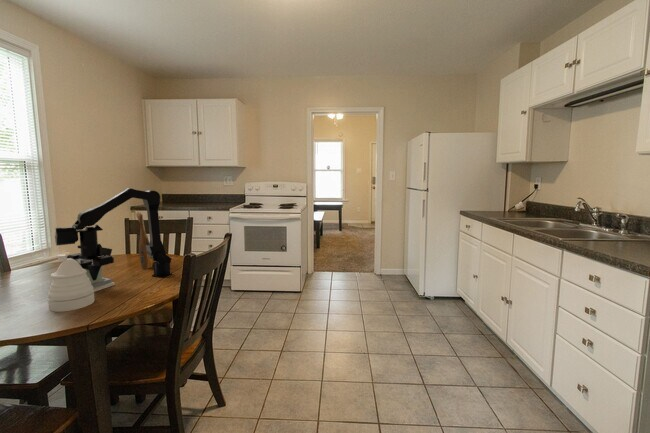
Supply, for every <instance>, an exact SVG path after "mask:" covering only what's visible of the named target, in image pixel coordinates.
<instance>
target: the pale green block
mask: <svg viewBox="0 0 650 433" xmlns="http://www.w3.org/2000/svg"><path fill="white" fill-rule="evenodd" d="M86 270H87V272H86V275H87V277H88V278H89V281H90V282H91V284H93V283H97V282H100V281H103V279H102V278H103V266H101V268H100V270H99V273H98V276H97V279H96V280H94V281H93V279H92V277H91V274H90V272H89V269H86Z"/></svg>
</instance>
